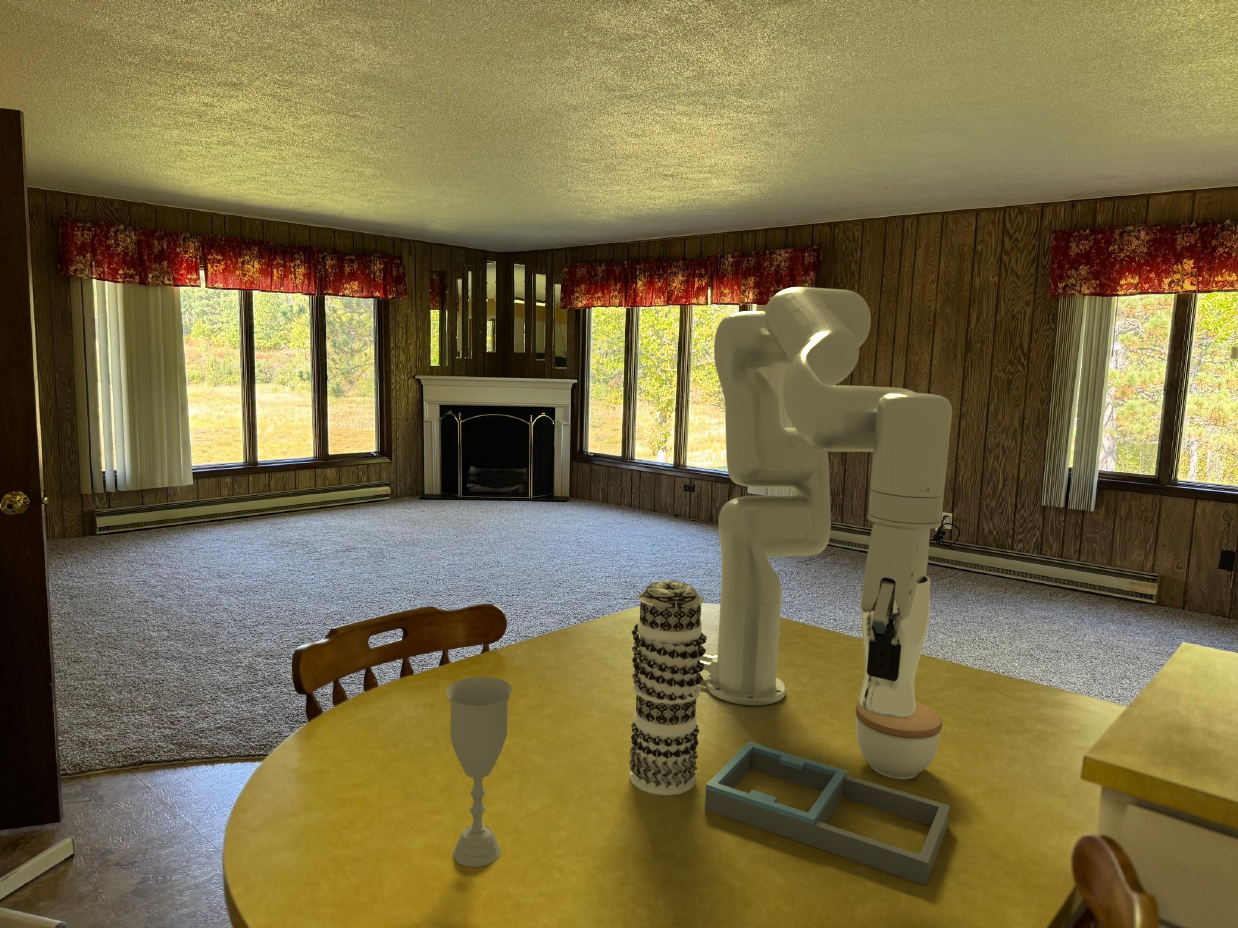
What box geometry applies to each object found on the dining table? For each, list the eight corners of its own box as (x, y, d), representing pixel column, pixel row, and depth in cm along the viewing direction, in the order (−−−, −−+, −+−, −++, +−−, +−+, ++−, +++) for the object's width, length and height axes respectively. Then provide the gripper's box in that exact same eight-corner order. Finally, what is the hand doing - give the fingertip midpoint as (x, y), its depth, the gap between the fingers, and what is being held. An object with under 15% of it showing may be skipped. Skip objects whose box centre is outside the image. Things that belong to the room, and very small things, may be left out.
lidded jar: (840, 771, 107) (845, 702, 106) (866, 740, 116) (871, 677, 115) (925, 798, 101) (932, 726, 100) (945, 764, 110) (952, 697, 109)
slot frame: (704, 808, 97) (706, 784, 97) (746, 763, 108) (748, 741, 108) (925, 885, 84) (928, 857, 84) (947, 825, 95) (950, 800, 95)
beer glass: (924, 723, 87) (938, 587, 85) (856, 715, 89) (868, 581, 86) (914, 696, 94) (927, 570, 92) (852, 689, 95) (862, 564, 93)
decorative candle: (667, 805, 97) (677, 602, 94) (611, 776, 103) (618, 584, 100) (713, 778, 104) (724, 587, 101) (658, 752, 110) (666, 571, 107)
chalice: (448, 832, 90) (450, 676, 88) (510, 831, 91) (514, 676, 89) (439, 874, 83) (441, 705, 81) (507, 873, 84) (511, 705, 81)
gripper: (888, 492, 97) (875, 637, 100) (847, 516, 83) (833, 684, 85) (955, 501, 94) (940, 651, 96) (925, 527, 79) (908, 703, 81)
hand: (890, 665), depth 91 cm, fingers closed on beer glass, 6 cm apart
